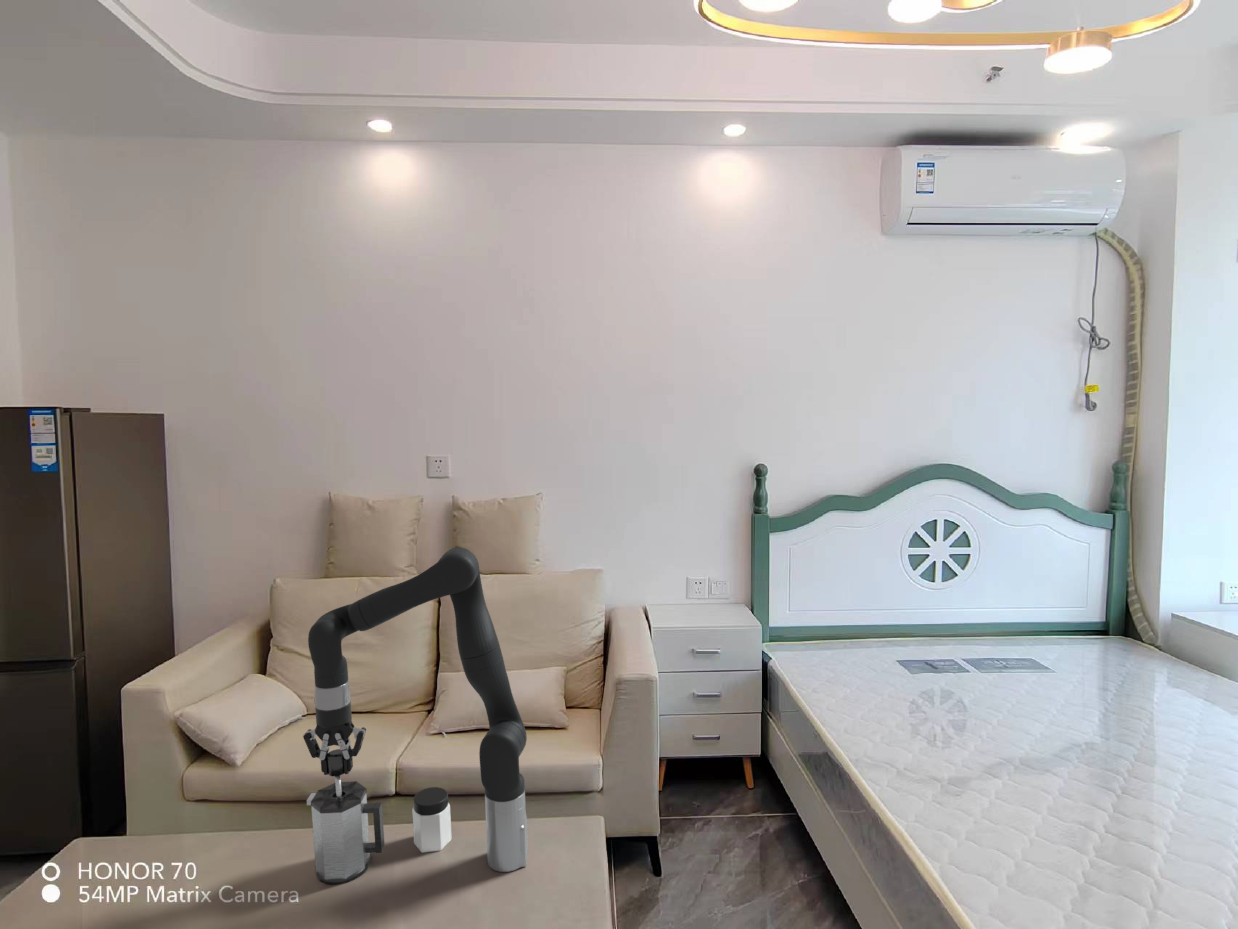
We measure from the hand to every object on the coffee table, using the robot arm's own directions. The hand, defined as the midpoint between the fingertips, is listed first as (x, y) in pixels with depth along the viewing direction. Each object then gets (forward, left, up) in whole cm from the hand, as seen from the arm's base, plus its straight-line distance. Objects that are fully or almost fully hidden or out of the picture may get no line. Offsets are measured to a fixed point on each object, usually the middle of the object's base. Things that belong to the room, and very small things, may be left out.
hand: (337, 772), depth 168 cm
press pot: (-1, 0, -24) cm, 24 cm away
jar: (-19, -8, -24) cm, 31 cm away
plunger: (0, 0, -16) cm, 16 cm away
